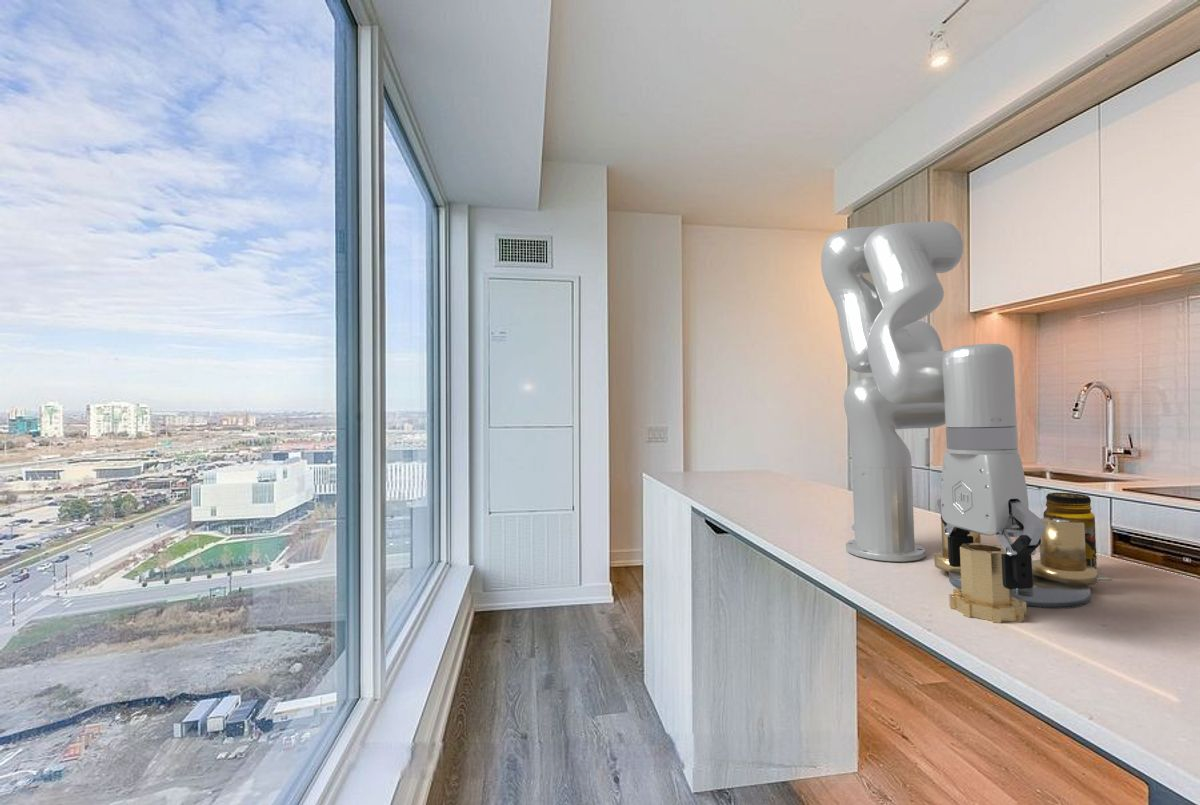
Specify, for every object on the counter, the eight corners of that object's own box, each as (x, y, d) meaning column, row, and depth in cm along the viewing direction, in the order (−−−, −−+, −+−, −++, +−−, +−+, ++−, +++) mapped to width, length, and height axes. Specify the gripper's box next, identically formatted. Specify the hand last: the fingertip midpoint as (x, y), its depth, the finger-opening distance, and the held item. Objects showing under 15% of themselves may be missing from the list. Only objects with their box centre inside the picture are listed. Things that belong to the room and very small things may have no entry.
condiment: (1112, 580, 80) (1109, 498, 80) (1046, 578, 82) (1043, 498, 82) (1079, 566, 87) (1076, 491, 87) (1019, 564, 89) (1016, 490, 89)
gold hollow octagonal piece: (937, 601, 74) (935, 541, 74) (994, 599, 74) (992, 539, 74) (978, 623, 66) (976, 557, 66) (1042, 621, 66) (1039, 555, 66)
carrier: (919, 569, 88) (917, 511, 88) (1033, 565, 88) (1031, 507, 88) (1002, 610, 70) (999, 536, 70) (1145, 604, 70) (1142, 531, 70)
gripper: (912, 440, 79) (918, 560, 78) (1003, 445, 61) (1011, 599, 61) (963, 438, 79) (969, 558, 78) (1068, 443, 61) (1077, 597, 61)
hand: (987, 576), depth 69 cm, fingers open, 9 cm apart
